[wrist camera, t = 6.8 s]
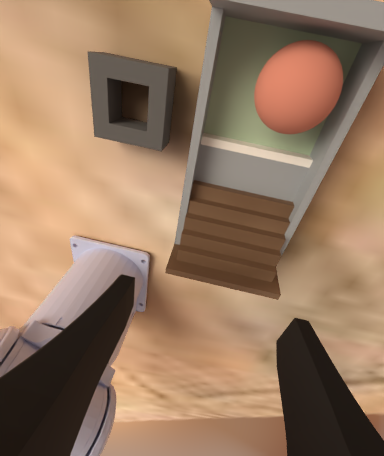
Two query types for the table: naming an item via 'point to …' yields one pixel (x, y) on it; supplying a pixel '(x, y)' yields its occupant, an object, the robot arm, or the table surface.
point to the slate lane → (245, 106)
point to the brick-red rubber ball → (298, 87)
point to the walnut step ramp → (232, 239)
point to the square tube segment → (112, 99)
